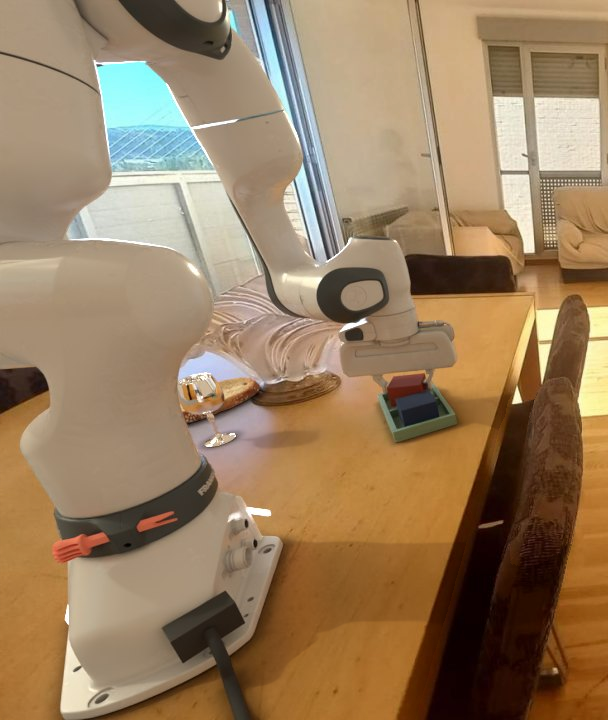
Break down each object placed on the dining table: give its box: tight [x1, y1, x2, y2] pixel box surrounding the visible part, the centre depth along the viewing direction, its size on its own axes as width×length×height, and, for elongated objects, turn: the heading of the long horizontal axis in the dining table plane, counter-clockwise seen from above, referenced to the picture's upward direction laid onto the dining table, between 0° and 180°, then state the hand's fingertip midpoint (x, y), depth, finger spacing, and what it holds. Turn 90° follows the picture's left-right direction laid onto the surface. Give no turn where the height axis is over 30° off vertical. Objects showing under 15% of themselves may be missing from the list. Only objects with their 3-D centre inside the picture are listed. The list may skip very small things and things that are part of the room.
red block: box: [387, 372, 428, 407], centre depth 93 cm, size 6×6×4 cm
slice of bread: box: [179, 376, 261, 424], centre depth 95 cm, size 18×18×4 cm
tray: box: [376, 380, 458, 444], centre depth 90 cm, size 18×11×2 cm, turn 33°
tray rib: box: [390, 397, 440, 418], centre depth 90 cm, size 1×9×2 cm, turn 124°
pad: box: [396, 390, 440, 427], centre depth 87 cm, size 6×6×4 cm
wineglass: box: [178, 372, 237, 448], centre depth 82 cm, size 6×6×12 cm
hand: (408, 390), depth 93 cm, fingers closed on red block, 6 cm apart
